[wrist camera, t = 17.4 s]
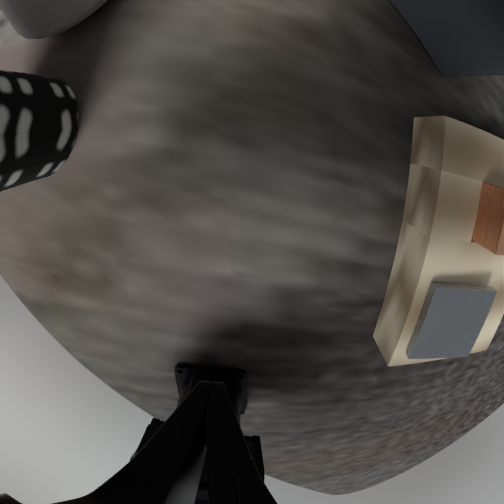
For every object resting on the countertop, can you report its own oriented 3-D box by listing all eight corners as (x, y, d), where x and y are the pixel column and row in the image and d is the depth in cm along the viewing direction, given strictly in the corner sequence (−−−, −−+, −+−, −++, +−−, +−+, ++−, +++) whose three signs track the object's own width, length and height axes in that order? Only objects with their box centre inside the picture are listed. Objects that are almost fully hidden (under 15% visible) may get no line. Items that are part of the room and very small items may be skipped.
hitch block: (467, 327, 23) (486, 349, 19) (372, 336, 23) (387, 366, 19) (511, 153, 16) (541, 160, 12) (413, 117, 16) (445, 115, 12)
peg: (473, 227, 19) (525, 256, 13) (441, 222, 19) (495, 254, 13) (481, 181, 17) (537, 201, 11) (449, 173, 17) (509, 190, 11)
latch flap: (464, 350, 18) (467, 356, 17) (405, 352, 18) (408, 358, 18) (492, 286, 15) (497, 291, 15) (431, 281, 16) (435, 286, 15)
